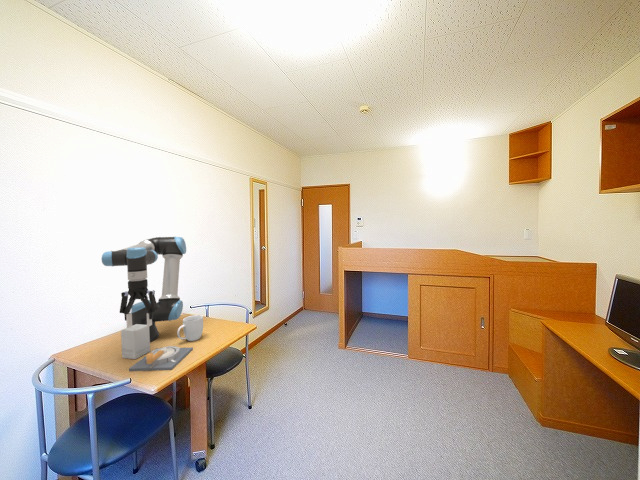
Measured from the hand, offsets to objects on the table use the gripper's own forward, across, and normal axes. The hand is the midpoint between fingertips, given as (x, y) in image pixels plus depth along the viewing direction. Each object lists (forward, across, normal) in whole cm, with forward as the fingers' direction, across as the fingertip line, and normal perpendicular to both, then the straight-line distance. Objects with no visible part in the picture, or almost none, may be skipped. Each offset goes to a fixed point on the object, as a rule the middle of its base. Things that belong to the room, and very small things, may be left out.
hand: (139, 326), depth 117 cm
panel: (+20, +7, +7) cm, 22 cm away
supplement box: (+21, -11, +14) cm, 27 cm away
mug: (+21, +12, +29) cm, 38 cm away
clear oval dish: (+19, +6, +4) cm, 20 cm away
